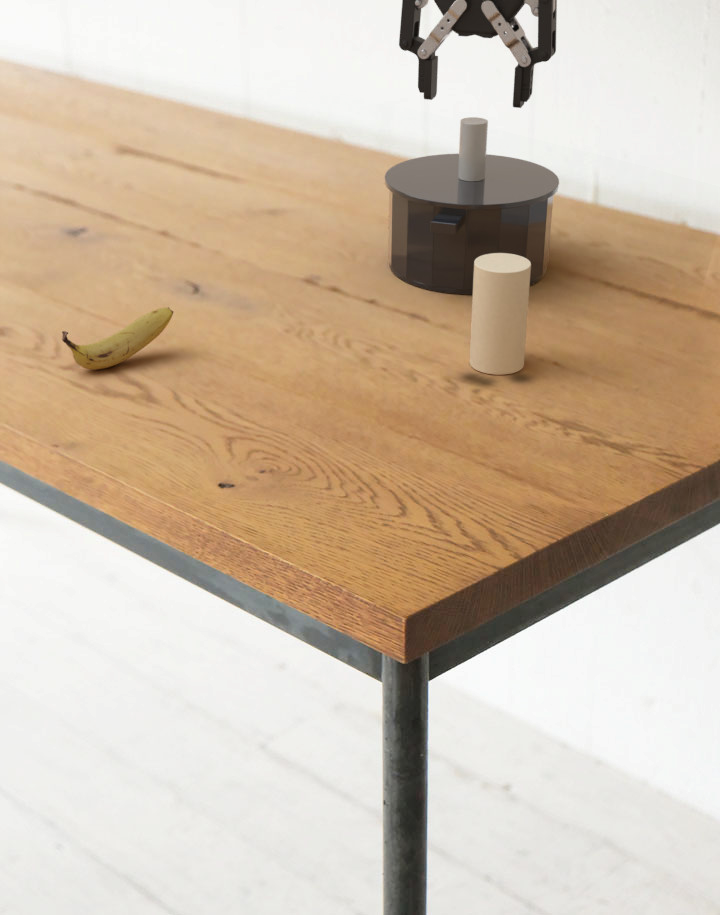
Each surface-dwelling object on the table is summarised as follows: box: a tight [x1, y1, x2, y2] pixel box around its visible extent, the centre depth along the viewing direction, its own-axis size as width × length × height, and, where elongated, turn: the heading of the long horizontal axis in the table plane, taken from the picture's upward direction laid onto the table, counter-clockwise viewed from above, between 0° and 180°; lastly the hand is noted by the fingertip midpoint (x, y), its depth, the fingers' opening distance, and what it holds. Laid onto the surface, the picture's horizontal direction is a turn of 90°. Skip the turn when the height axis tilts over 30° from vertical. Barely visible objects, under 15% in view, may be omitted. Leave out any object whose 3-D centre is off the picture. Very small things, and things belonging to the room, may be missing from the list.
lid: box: [383, 116, 560, 210], centre depth 129 cm, size 17×17×7 cm
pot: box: [387, 189, 554, 296], centre depth 132 cm, size 16×21×8 cm
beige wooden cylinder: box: [469, 253, 531, 376], centre depth 112 cm, size 5×5×9 cm
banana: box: [61, 307, 174, 371], centre depth 113 cm, size 10×2×4 cm, turn 126°
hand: (474, 101), depth 127 cm, fingers open, 8 cm apart
